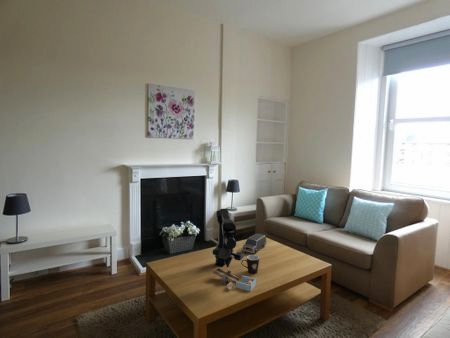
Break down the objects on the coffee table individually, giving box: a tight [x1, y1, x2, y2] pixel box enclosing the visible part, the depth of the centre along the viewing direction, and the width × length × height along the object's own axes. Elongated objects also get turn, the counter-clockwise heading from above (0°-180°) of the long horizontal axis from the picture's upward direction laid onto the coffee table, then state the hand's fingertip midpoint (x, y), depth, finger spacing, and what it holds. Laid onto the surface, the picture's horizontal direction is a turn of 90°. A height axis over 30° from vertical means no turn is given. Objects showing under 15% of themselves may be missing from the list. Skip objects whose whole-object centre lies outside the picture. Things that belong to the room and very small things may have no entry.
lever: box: [212, 266, 240, 290], centre depth 168 cm, size 16×13×3 cm
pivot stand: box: [221, 269, 232, 285], centre depth 171 cm, size 3×8×5 cm, turn 153°
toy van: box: [242, 233, 267, 255], centre depth 224 cm, size 11×25×10 cm, turn 147°
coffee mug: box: [240, 254, 260, 275], centre depth 184 cm, size 12×9×10 cm
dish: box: [235, 274, 257, 292], centre depth 166 cm, size 9×9×4 cm
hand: (227, 267), depth 166 cm, fingers closed
